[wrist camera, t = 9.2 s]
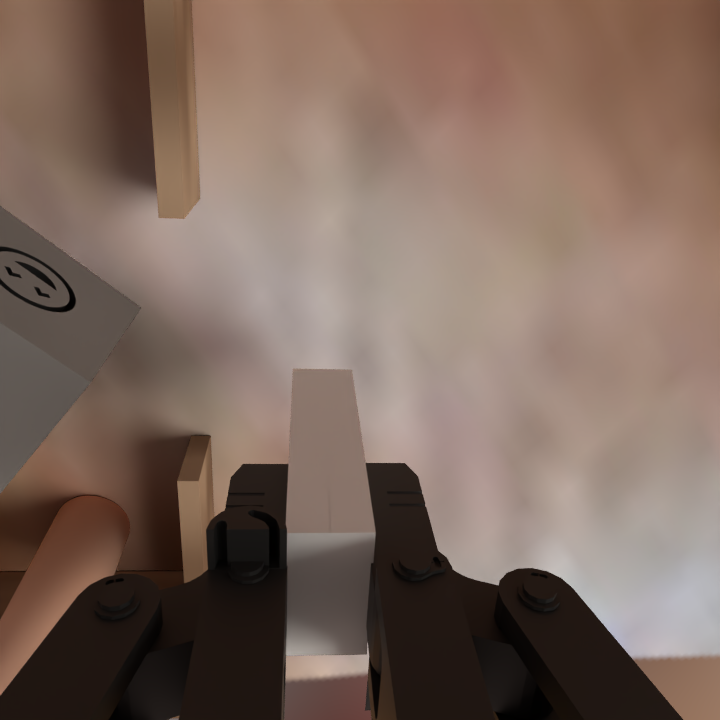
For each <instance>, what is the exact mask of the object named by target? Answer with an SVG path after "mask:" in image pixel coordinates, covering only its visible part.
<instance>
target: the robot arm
mask: <svg viewBox="0 0 720 720" xmlns="http://www.w3.org/2000/svg"><path fill="white" fill-rule="evenodd" d="M206 541H207V562H208V570H207V571H205V572H204V573H203V574H202V575H200V576H199V577H197V578H195V579H193V580H191V581H190V582H187V583H184V584H181V585H178V586H174V587H170V588H165V589H161V590H159V588H158V586H157V585H156V584H155V583H154V582H153V581H152V580H151V579H150V578H147V577H144V576H141V575H139V574H117V575H113V576H108V577H104V578H102V579H100V580H98V581H96V582H94V583H92V584H90V585H89V586H88V587H87V588H86V589H85V590H83V591H82V592H81V593H80V594H79V595H78V596H77V597H76V599H75V600H74V601H73V603H72V604H71V605H70V606H69V608H68V609H67V610H66V612H65V613H64V614H63V615H62V617H61V618H60V619H59V621H58V622H57V623H56V624H55V626H54V627H53V628H52V630H51V631H50V632H49V633H48V635H47V636H46V637H45V639H44V640H43V641H42V643H41V644H40V645H39V646H38V648H37V649H36V650H35V652H34V653H33V654H32V655H31V657H30V658H29V659H28V661H27V662H26V663H25V664H24V666H23V667H22V668H21V670H20V671H19V672H18V673H17V675H16V676H15V677H14V679H13V680H12V681H11V682H10V684H9V685H8V686H7V688H6V689H5V690H4V691H3V693H2V694H1V695H0V720H169V719H170V718H173V717H176V716H179V715H180V716H179V720H284V708H285V675H286V656H306V655H359V654H367V642H368V648H369V669H368V682H367V696H366V708H365V710H371V719H372V720H683V719H682V718H681V716H680V715H679V714H678V713H677V712H676V711H675V709H674V708H673V707H672V706H671V705H670V704H669V702H668V701H667V700H666V699H665V697H664V696H663V695H662V694H661V693H660V692H659V691H658V689H657V688H656V687H655V686H654V684H653V683H652V682H651V681H650V680H649V679H648V677H647V676H646V675H645V674H644V672H643V671H642V670H641V669H640V668H639V667H638V666H637V664H636V663H635V662H634V661H633V659H632V658H631V657H630V656H629V655H628V653H627V652H626V651H625V650H624V649H623V648H622V646H621V645H620V644H619V643H618V642H617V640H616V639H615V638H614V637H613V636H612V634H611V633H610V632H609V631H608V630H607V628H606V627H605V626H604V625H603V624H602V623H601V621H600V620H599V619H598V618H597V617H596V615H595V614H594V613H593V612H592V611H591V609H590V608H589V607H588V606H587V605H586V604H585V602H584V601H583V600H582V599H581V598H580V596H579V595H578V594H577V593H576V592H575V590H574V589H573V588H572V587H571V586H570V585H568V584H567V583H566V582H565V581H564V580H563V579H561V578H559V577H557V576H555V575H553V574H551V573H549V572H547V571H543V570H538V569H534V568H525V569H516V570H514V571H511V572H508V573H506V575H505V576H504V577H503V578H502V579H501V580H500V582H499V586H498V585H494V584H489V583H485V582H481V581H477V580H474V579H470V578H467V577H465V576H463V575H461V574H459V573H457V572H455V571H454V570H453V569H452V566H451V565H450V563H449V561H448V559H447V558H446V557H445V556H444V555H443V554H441V553H440V552H439V551H438V549H437V546H436V542H435V538H434V534H433V531H432V527H431V523H430V520H429V516H428V512H427V509H426V507H425V501H424V497H423V494H422V490H421V486H420V483H419V479H418V476H417V475H416V474H415V473H414V472H413V471H412V470H411V469H410V468H409V467H408V466H407V465H406V464H405V463H365V456H364V449H363V443H362V436H361V429H360V422H359V415H358V409H357V402H356V395H355V388H354V381H353V374H352V370H335V369H293V380H292V401H291V422H290V443H289V464H243V465H242V466H241V467H240V468H239V469H238V470H237V471H236V472H235V474H234V475H233V476H232V477H231V480H230V486H229V491H228V497H227V502H226V508H225V511H223V512H221V513H220V514H218V515H217V516H216V517H214V518H213V519H212V520H211V521H210V523H209V525H208V527H207V529H206Z"/></svg>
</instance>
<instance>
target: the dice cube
mask: <svg viewBox="0 0 720 720" xmlns="http://www.w3.org/2000/svg"><path fill="white" fill-rule="evenodd" d="M140 309H141V307H139V306H138V305H137V304H135V303H134V302H132V301H131V300H130V299H128V298H127V297H125V296H124V295H123V294H121V293H120V292H119V291H117V290H116V289H114V288H113V287H112V286H110V285H109V284H108V283H106V282H105V281H103V280H102V279H101V278H99V277H98V276H96V275H95V274H94V273H92V272H91V271H90V270H88V269H87V268H85V267H84V266H83V265H81V264H80V263H78V262H77V261H76V260H74V259H73V258H72V257H70V256H69V255H67V254H66V253H65V252H63V251H62V250H61V249H59V248H58V247H56V246H55V245H54V244H52V243H51V242H49V241H48V240H47V239H45V238H44V237H43V236H41V235H40V234H38V233H37V232H36V231H34V230H33V229H32V228H30V227H29V226H27V225H26V224H25V223H23V222H22V221H20V220H19V219H18V218H16V217H15V216H14V215H12V214H11V213H9V212H8V211H7V210H5V209H4V208H2V207H1V206H0V493H1V492H2V491H3V490H4V488H5V487H6V486H7V485H8V484H9V482H10V481H11V480H12V479H13V477H14V476H15V475H16V474H17V472H18V471H19V470H20V469H21V468H22V466H23V465H24V464H25V463H26V461H27V460H28V459H29V458H30V457H31V455H32V454H33V453H34V452H35V450H36V449H37V448H38V447H39V445H40V444H41V443H42V442H43V441H44V439H45V438H46V437H47V436H48V434H49V433H50V432H51V431H52V430H53V428H54V427H55V426H56V425H57V423H58V422H59V421H60V420H61V418H62V417H63V416H64V415H65V414H66V412H67V411H68V410H69V409H70V407H71V406H72V405H73V404H74V402H75V401H76V400H77V399H78V398H79V396H80V395H81V394H82V393H83V391H84V390H85V389H86V388H87V387H88V385H89V384H90V383H91V381H92V380H93V378H94V377H95V376H96V374H97V373H98V371H99V370H100V368H101V367H102V365H103V364H104V362H105V361H106V359H107V358H108V356H109V355H110V353H111V352H112V350H113V349H114V347H115V346H116V344H117V343H118V341H119V340H120V338H121V337H122V335H123V334H124V333H125V331H126V330H127V328H128V327H129V325H130V324H131V322H132V321H133V319H134V318H135V316H136V315H137V313H138V312H139V310H140Z"/></svg>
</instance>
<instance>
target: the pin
mask: <svg viewBox="0 0 720 720" xmlns="http://www.w3.org/2000/svg"><path fill="white" fill-rule="evenodd" d="M129 532H130V522H129V519H128V517H127V515H126V513H125V512H124V511H123V510H122V508H121V507H119V506H118V505H117V504H115V503H114V502H112V501H110V500H108V499H105V498H102V497H98V496H80V497H76V498H73V499H71V500H69V501H67V502H66V503H65V504H64V505H63V506H62V507H61V508H60V509H59V511H58V513H57V515H56V517H55V518H54V520H53V522H52V524H51V526H50V528H49V530H48V532H47V533H46V535H45V537H44V539H43V541H42V543H41V545H40V546H39V548H38V550H37V552H36V554H35V556H34V558H33V560H32V561H31V563H30V565H29V567H28V569H27V571H26V573H25V575H24V576H23V578H22V580H21V582H20V584H19V586H18V588H17V590H16V591H15V593H14V595H13V597H12V599H11V601H10V603H9V604H8V606H7V608H6V610H5V612H4V614H3V616H2V618H1V619H0V695H1V694H2V693H3V691H4V690H5V689H6V688H7V686H8V685H9V684H10V682H11V681H12V680H13V679H14V677H15V676H16V675H17V673H18V672H19V671H20V670H21V668H22V667H23V666H24V664H25V663H26V662H27V661H28V659H29V658H30V657H31V655H32V654H33V653H34V652H35V650H36V649H37V648H38V646H39V645H40V644H41V643H42V641H43V640H44V639H45V637H46V636H47V635H48V633H49V632H50V631H51V630H52V628H53V627H54V626H55V624H56V623H57V622H58V621H59V619H60V618H61V617H62V615H63V614H64V613H65V612H66V610H67V609H68V608H69V606H70V605H71V604H72V603H73V601H74V600H75V599H76V597H77V596H78V595H79V594H80V593H81V592H82V591H83V590H85V589H86V588H87V587H88V586H89V585H90V584H92V583H94V582H96V581H98V580H100V579H102V578H104V577H108V576H113V575H114V574H115V571H116V568H117V566H118V563H119V560H120V557H121V555H122V552H123V549H124V546H125V544H126V541H127V538H128V535H129Z"/></svg>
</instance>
